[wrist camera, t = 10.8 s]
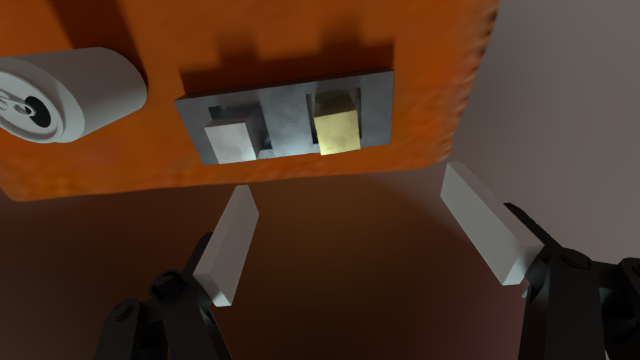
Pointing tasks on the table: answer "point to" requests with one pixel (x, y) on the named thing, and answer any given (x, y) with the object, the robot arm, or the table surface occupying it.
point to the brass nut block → (336, 124)
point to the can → (67, 93)
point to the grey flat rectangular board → (295, 110)
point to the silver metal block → (237, 133)
